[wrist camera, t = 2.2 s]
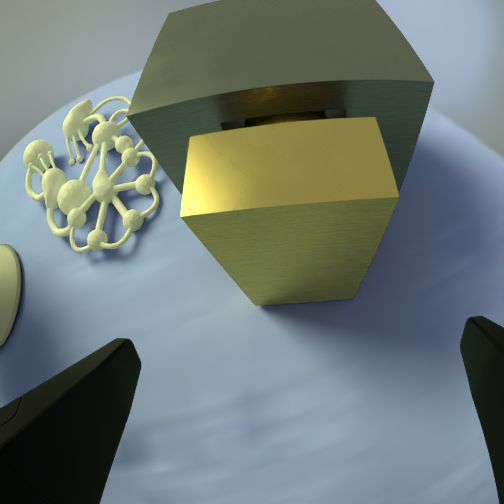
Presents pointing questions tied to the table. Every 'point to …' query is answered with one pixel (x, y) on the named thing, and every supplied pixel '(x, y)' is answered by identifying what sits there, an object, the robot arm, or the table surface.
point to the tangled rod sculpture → (77, 191)
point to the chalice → (8, 289)
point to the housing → (278, 74)
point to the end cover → (291, 203)
